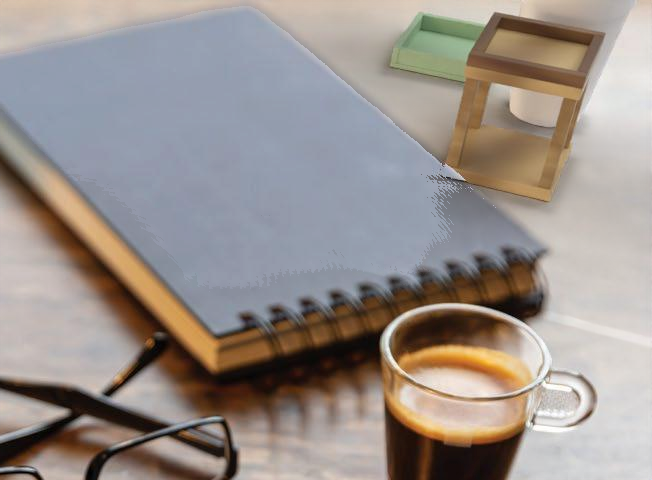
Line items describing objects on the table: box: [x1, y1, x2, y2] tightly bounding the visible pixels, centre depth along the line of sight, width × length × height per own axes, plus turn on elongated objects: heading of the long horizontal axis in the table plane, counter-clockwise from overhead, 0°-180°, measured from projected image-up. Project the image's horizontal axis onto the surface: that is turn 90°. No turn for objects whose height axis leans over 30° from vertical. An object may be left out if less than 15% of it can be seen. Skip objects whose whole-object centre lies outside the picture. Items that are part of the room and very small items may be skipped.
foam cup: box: [508, 0, 638, 128], centre depth 115 cm, size 10×9×13 cm
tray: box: [389, 11, 487, 83], centre depth 127 cm, size 9×9×2 cm
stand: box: [444, 11, 606, 202], centre depth 109 cm, size 9×9×11 cm
